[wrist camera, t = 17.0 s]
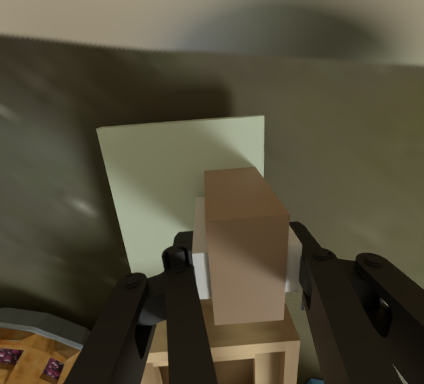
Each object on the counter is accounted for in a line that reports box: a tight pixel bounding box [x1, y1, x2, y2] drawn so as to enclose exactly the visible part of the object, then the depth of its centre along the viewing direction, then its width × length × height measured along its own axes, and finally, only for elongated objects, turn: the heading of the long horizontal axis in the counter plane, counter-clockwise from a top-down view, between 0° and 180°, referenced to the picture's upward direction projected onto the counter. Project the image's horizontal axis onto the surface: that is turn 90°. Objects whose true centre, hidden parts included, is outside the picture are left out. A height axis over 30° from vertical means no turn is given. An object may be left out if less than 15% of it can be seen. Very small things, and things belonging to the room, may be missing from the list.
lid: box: [96, 115, 290, 325], centre depth 15 cm, size 11×13×8 cm
